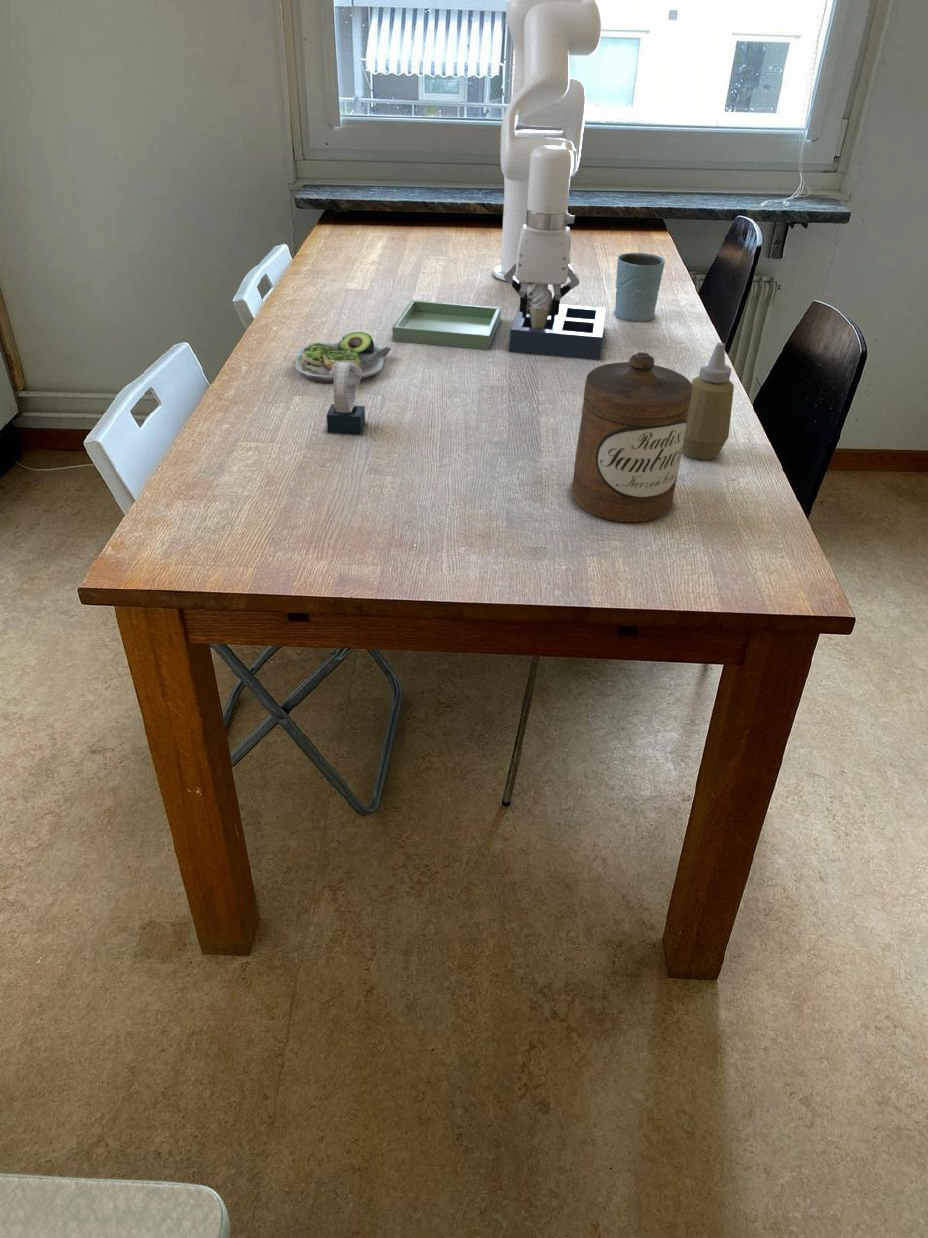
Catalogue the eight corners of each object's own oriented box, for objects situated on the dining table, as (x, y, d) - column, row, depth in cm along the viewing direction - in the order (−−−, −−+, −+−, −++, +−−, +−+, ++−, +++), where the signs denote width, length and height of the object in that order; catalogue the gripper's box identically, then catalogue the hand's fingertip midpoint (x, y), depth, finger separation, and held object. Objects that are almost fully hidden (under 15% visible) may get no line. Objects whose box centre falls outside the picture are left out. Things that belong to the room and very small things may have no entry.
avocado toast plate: (389, 390, 165) (388, 365, 163) (289, 389, 165) (287, 364, 162) (391, 351, 181) (391, 328, 178) (300, 350, 180) (298, 326, 177)
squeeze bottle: (729, 447, 151) (752, 340, 140) (718, 468, 145) (742, 357, 134) (680, 437, 153) (700, 331, 143) (668, 457, 147) (687, 347, 137)
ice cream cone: (549, 341, 188) (555, 265, 179) (548, 350, 184) (555, 273, 175) (524, 339, 188) (530, 264, 179) (523, 348, 184) (528, 272, 175)
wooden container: (603, 531, 128) (625, 381, 115) (553, 483, 139) (568, 341, 126) (692, 512, 133) (722, 366, 120) (637, 467, 144) (659, 329, 131)
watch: (367, 418, 156) (364, 355, 149) (359, 439, 149) (356, 374, 143) (334, 416, 156) (330, 353, 150) (325, 437, 150) (320, 372, 143)
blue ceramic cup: (636, 325, 197) (644, 268, 190) (600, 312, 203) (607, 256, 196) (665, 316, 203) (674, 260, 195) (630, 304, 209) (638, 249, 201)
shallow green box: (411, 312, 200) (411, 299, 198) (500, 320, 197) (500, 307, 196) (392, 340, 186) (392, 327, 184) (488, 349, 183) (488, 335, 182)
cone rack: (519, 321, 197) (521, 300, 194) (603, 329, 195) (606, 307, 192) (508, 351, 183) (510, 329, 180) (599, 359, 181) (602, 337, 178)
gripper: (593, 218, 174) (582, 314, 185) (503, 211, 176) (498, 307, 187) (590, 228, 168) (580, 326, 179) (498, 221, 170) (493, 319, 181)
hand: (538, 315), depth 182 cm, fingers closed on ice cream cone, 5 cm apart
